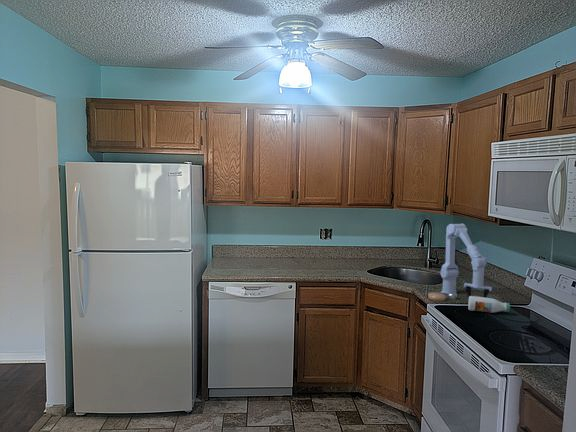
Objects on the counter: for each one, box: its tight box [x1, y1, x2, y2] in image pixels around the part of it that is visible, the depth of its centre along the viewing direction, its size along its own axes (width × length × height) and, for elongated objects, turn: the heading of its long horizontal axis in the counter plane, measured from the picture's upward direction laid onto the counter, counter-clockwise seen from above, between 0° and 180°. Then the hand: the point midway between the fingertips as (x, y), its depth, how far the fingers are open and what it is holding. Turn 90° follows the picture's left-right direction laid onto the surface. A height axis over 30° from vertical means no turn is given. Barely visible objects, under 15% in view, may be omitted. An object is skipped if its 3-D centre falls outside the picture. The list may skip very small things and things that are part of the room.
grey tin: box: [447, 292, 458, 300], centre depth 253 cm, size 5×5×3 cm
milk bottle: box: [467, 295, 511, 314], centre depth 228 cm, size 8×8×20 cm
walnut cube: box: [471, 293, 484, 297], centre depth 243 cm, size 5×5×5 cm
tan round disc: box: [427, 291, 447, 302], centre depth 251 cm, size 10×10×2 cm
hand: (476, 301), depth 243 cm, fingers open, 7 cm apart
